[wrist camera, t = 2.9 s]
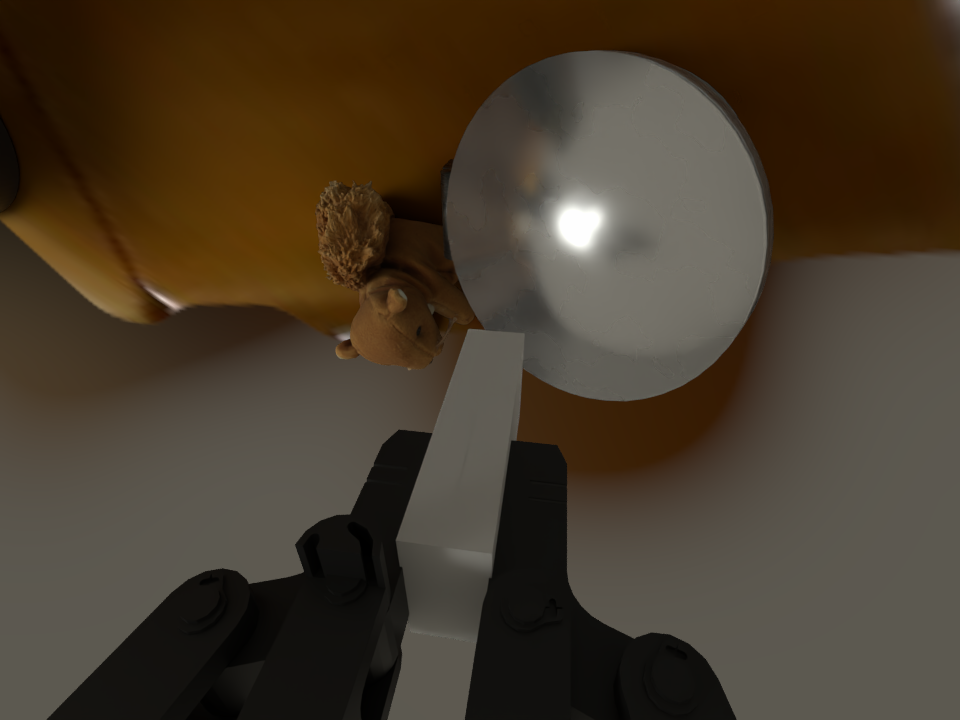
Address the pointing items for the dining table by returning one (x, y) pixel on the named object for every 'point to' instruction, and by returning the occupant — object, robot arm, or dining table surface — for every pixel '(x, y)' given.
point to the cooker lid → (609, 222)
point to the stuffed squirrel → (388, 277)
